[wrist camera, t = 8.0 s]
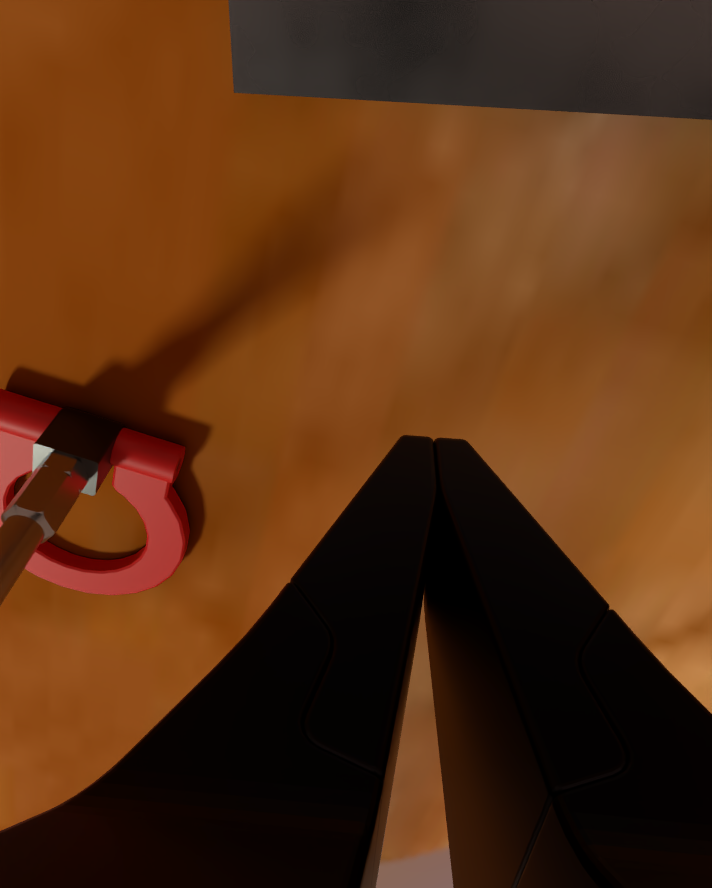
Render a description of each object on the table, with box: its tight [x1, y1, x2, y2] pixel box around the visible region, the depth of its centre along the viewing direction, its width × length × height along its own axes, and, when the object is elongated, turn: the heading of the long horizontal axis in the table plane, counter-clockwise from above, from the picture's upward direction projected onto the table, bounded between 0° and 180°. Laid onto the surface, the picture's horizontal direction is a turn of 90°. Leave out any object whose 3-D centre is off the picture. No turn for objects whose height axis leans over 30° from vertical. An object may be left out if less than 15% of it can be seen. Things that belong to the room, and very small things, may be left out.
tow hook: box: [0, 389, 190, 606], centre depth 21 cm, size 8×13×9 cm
